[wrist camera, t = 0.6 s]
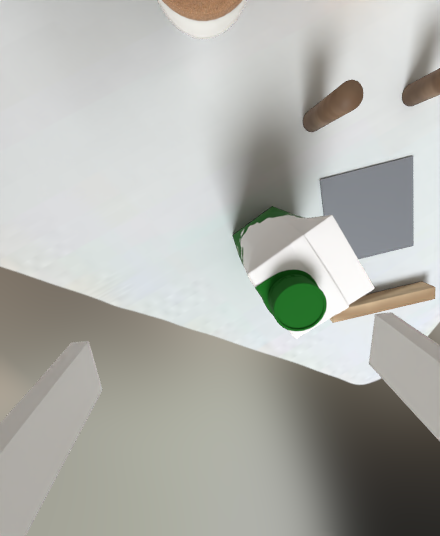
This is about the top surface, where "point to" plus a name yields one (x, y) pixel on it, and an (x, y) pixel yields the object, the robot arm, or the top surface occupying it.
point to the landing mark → (373, 206)
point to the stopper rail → (387, 300)
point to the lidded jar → (202, 15)
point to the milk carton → (301, 268)
